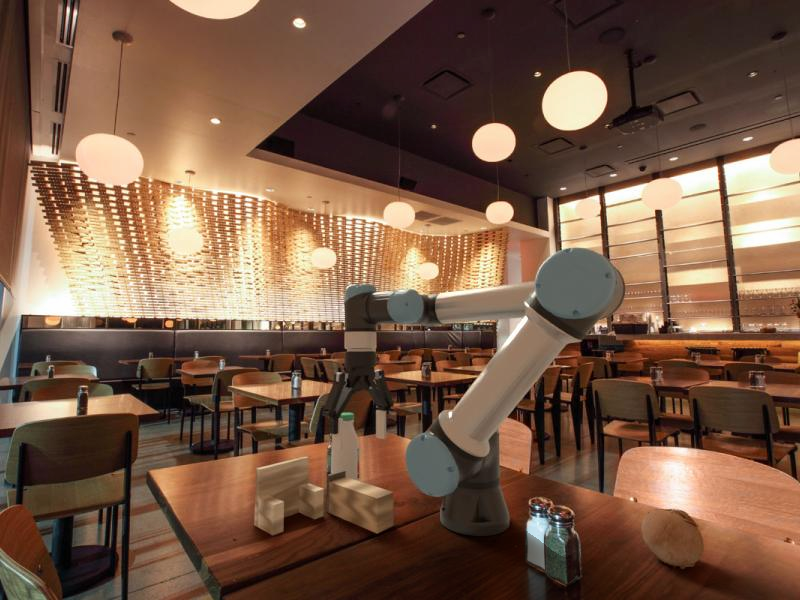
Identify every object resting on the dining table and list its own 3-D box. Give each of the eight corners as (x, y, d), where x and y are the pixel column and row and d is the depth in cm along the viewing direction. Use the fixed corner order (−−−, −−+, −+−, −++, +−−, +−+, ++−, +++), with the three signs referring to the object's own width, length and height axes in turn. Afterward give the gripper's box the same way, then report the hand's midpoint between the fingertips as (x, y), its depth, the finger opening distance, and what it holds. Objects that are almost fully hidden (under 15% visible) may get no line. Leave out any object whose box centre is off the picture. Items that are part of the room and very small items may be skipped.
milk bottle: (354, 494, 109) (354, 416, 111) (326, 492, 111) (327, 415, 113) (362, 484, 117) (363, 411, 119) (336, 482, 118) (337, 410, 121)
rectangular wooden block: (393, 525, 90) (393, 485, 91) (377, 533, 87) (377, 491, 88) (343, 505, 102) (343, 470, 102) (326, 512, 98) (327, 475, 99)
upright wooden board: (323, 516, 96) (324, 462, 97) (272, 535, 86) (274, 475, 87) (304, 507, 100) (305, 456, 102) (254, 525, 91) (255, 468, 92)
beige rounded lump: (693, 578, 75) (717, 527, 75) (684, 584, 69) (710, 529, 69) (638, 541, 82) (660, 494, 82) (626, 544, 76) (649, 493, 76)
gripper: (385, 349, 110) (386, 432, 107) (306, 351, 91) (305, 451, 89) (407, 349, 105) (408, 436, 102) (328, 351, 86) (327, 457, 84)
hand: (360, 443), depth 96 cm, fingers open, 13 cm apart
